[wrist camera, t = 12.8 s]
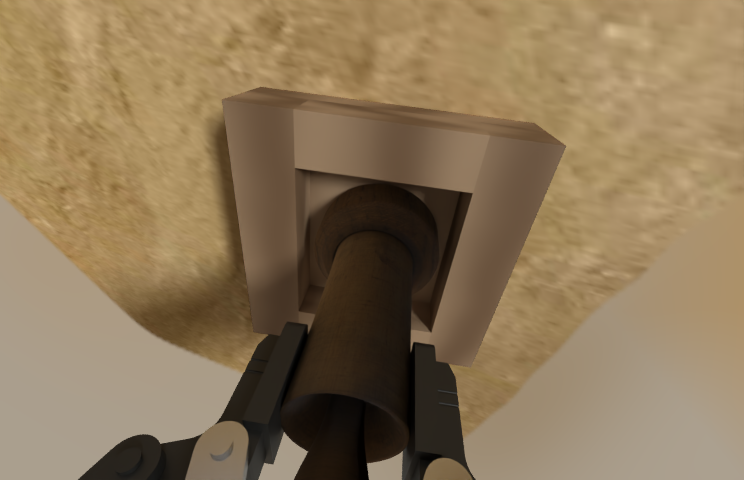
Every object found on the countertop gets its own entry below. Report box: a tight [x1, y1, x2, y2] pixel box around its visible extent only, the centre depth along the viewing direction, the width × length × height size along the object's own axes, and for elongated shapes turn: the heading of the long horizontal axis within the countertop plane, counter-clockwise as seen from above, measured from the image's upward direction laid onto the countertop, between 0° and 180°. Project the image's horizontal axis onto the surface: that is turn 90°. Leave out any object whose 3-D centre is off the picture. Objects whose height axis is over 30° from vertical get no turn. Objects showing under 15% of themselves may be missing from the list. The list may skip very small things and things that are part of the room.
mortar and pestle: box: [280, 184, 439, 480], centre depth 11 cm, size 7×6×18 cm
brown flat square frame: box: [222, 87, 566, 367], centre depth 19 cm, size 14×14×4 cm
